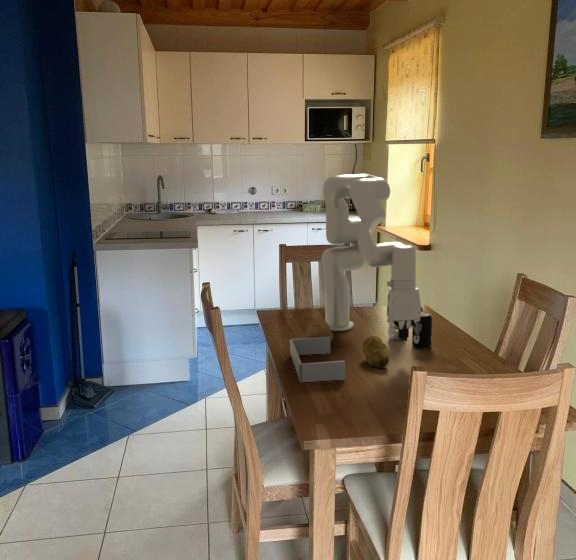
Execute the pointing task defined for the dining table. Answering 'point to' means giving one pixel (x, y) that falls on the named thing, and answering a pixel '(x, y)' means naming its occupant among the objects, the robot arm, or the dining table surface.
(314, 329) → the natural sponge
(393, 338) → the plastic bottle
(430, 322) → the beverage can
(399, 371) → the dining table surface
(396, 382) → the dining table surface
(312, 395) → the dining table surface
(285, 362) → the dining table surface
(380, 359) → the potato
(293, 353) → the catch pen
